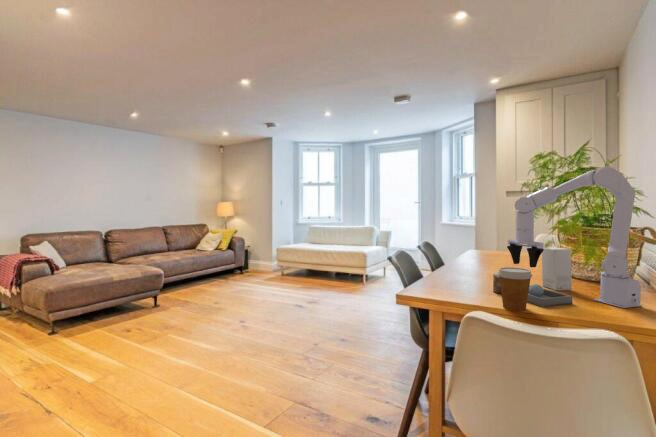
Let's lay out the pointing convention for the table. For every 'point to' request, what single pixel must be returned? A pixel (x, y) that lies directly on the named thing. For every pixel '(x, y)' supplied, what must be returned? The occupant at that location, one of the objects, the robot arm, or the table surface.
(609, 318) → the table surface
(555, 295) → the tray
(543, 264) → the skincare box
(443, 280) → the table surface
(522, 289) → the disposable coffee cup
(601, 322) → the table surface
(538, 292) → the ball
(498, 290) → the shaker
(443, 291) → the table surface
